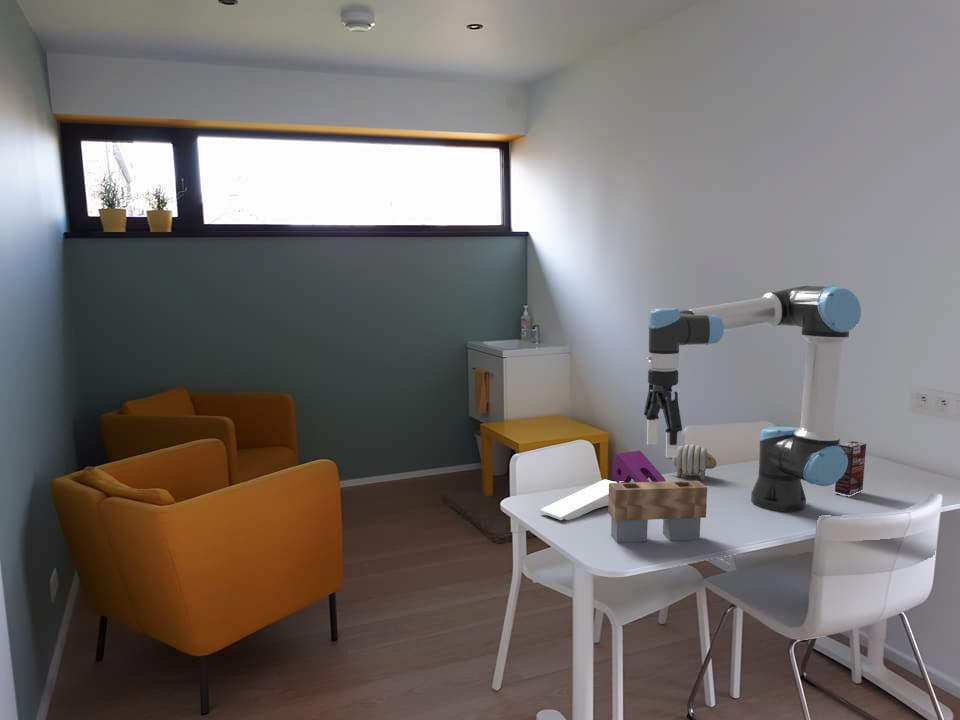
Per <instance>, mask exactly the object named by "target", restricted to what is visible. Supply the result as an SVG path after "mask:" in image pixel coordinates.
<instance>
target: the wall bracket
mask: <svg viewBox="0 0 960 720" xmlns="http://www.w3.org/2000/svg"><path fill="white" fill-rule="evenodd" d="M609 483H617V482H616V481H612V480H608V479H606V478H605V479H602V480H600V481H597V482H596V483H593V484H591V485H589V486H587V487H585V488H582V489H580V490H578V491H576V492H574V493H572V494H570V495H568V496H565V497H564V498H561V499H559V500H557V501H555V502H553V503H551V504H549V505H547V506H544V507H542V508H540V509H539V513H541V514H543V515H545V516H548V517H552V518H553V519H555V520H556V519H557V520H559V521H562V520H565V521H569V520H573V519H576V517H577V518H579V517H581V516H583V515H585V514H587V513H590V512H591V511H594V510H596V509H600V508H604V507H608V501H609Z"/></svg>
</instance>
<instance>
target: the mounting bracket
mask: <svg viewBox="0 0 960 720" xmlns="http://www.w3.org/2000/svg"><path fill="white" fill-rule="evenodd" d="M611 466H612V467H611V471H612V472H611V473H612V477H613V479H614V480H615V481H614V482H616V483H618V482H619V481H624V482H621V483H631V481H633V482H667V481H666V478H665V477H664V475H662V474H661V473H660V471H659V470H658V469H657V468H656V466H655V465H653V463H652V462H651V461H650V460H649V459H648V457H646V455H645V454H644V453H643V452H642V451H641V450H636V451H626V452H618V453H616V455H615V457H614V461H613V463H612V465H611ZM649 480H650V481H649Z"/></svg>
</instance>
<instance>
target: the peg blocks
mask: <svg viewBox="0 0 960 720" xmlns="http://www.w3.org/2000/svg"><path fill="white" fill-rule="evenodd" d="M648 521H649V520H623V521H615V520H614V519H613V518H612V517H611V524H610V525H611V527H610V536H611V537H612V539H613V540H614V541H615V543H616V542H618V543H619V542H621V543H640V542H641V543H642V541H644V542H645V541H647V542H648V528H649V527H648V525H649V523H648ZM662 535H664V536H665V537H666V538H667V539H668V540H669V541H670V540H674V541H693V540H695V541H697V540H700V539H701V538H700V537H701V518H681V519H662ZM644 542H643V543H644Z"/></svg>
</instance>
